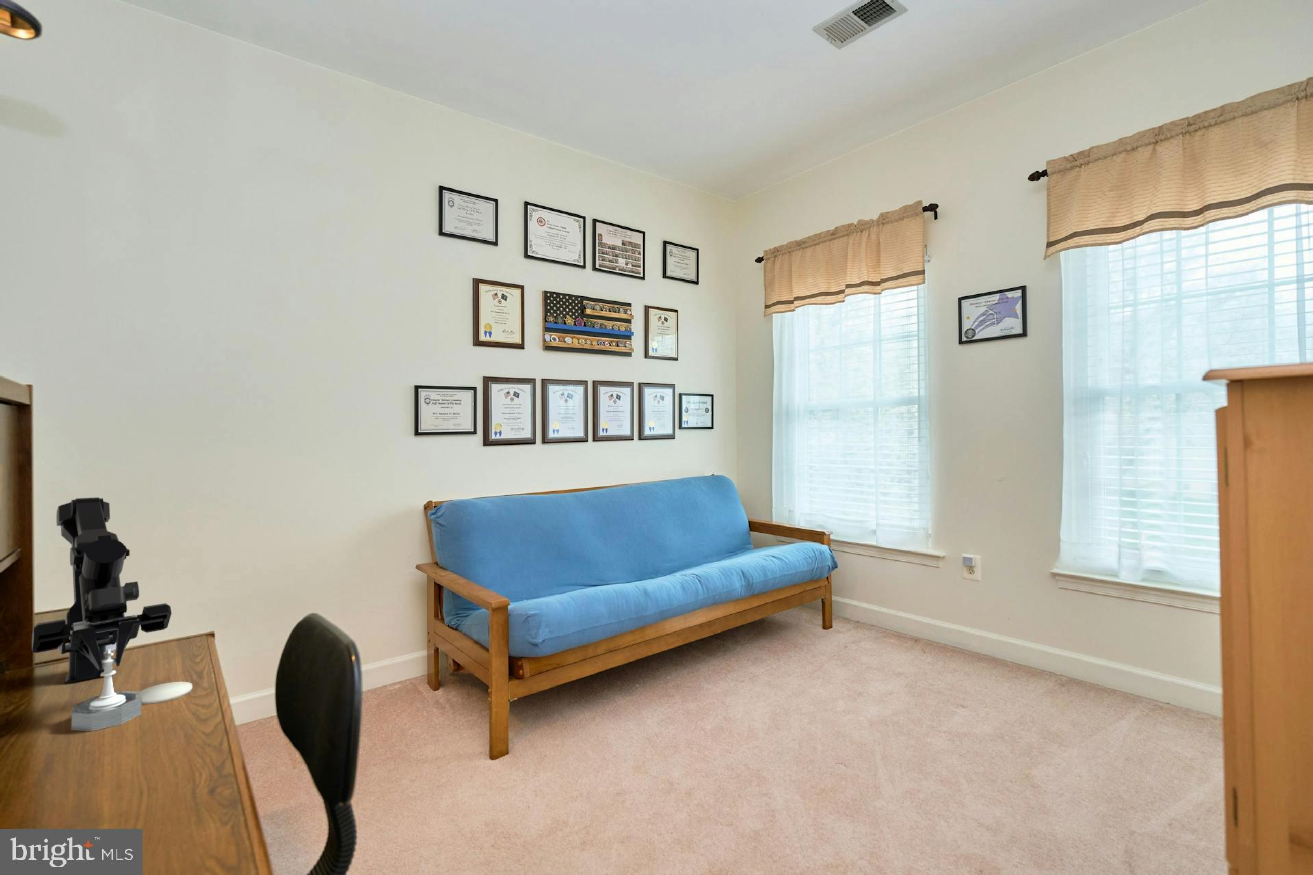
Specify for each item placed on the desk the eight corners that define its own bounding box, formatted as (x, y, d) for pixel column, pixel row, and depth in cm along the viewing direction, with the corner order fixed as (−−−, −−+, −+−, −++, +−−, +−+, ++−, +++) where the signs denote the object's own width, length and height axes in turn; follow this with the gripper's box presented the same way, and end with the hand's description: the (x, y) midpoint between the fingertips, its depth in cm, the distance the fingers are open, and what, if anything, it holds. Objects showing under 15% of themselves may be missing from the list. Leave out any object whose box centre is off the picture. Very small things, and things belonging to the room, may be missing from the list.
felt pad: (133, 692, 119) (133, 689, 119) (190, 681, 125) (190, 678, 125) (133, 708, 112) (133, 704, 112) (193, 694, 118) (193, 691, 118)
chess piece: (103, 711, 105) (104, 655, 105) (81, 708, 106) (82, 652, 106) (133, 699, 110) (133, 645, 110) (111, 696, 111) (112, 643, 111)
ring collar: (74, 716, 109) (74, 700, 109) (141, 702, 115) (141, 687, 115) (70, 735, 102) (70, 718, 102) (141, 719, 108) (141, 703, 108)
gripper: (33, 578, 104) (37, 657, 97) (170, 562, 118) (182, 630, 111) (30, 613, 109) (33, 691, 102) (161, 594, 123) (172, 661, 116)
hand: (109, 666), depth 107 cm, fingers closed on chess piece
